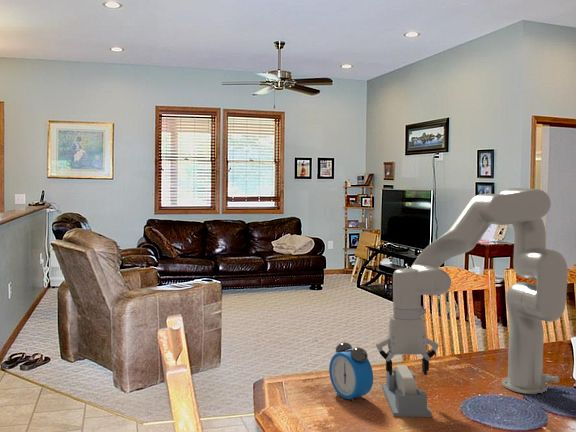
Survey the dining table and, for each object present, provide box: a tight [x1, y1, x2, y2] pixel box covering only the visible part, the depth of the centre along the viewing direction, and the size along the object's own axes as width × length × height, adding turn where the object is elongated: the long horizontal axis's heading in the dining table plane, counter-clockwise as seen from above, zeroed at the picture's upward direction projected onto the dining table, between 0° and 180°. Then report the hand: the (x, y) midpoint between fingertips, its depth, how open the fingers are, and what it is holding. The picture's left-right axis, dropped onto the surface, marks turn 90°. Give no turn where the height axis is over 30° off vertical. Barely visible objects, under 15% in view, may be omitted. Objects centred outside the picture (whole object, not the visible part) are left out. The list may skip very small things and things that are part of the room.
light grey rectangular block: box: [395, 364, 417, 395], centre depth 155 cm, size 3×14×7 cm, turn 179°
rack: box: [381, 369, 433, 418], centre depth 155 cm, size 10×21×6 cm, turn 179°
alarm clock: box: [328, 341, 374, 403], centre depth 158 cm, size 13×6×15 cm, turn 34°
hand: (407, 373), depth 155 cm, fingers open, 9 cm apart
